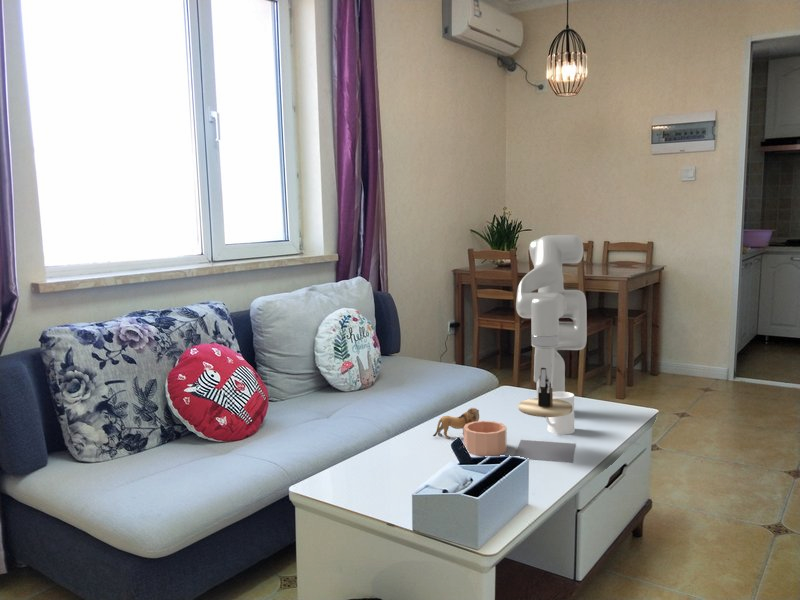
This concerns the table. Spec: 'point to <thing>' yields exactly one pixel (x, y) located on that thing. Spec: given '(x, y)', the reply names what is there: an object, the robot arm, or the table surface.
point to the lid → (554, 410)
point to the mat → (546, 451)
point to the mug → (562, 422)
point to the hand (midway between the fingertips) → (545, 403)
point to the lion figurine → (457, 421)
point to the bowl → (485, 438)
